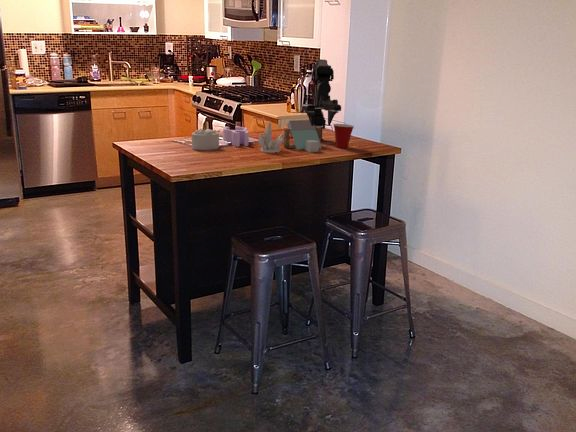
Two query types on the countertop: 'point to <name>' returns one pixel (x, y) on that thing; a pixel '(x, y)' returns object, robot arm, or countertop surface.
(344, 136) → the plastic cup
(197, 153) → the countertop surface
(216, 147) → the lumpy-topped squat cylinder
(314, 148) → the stone
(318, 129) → the frame
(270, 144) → the crystal
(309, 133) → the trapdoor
